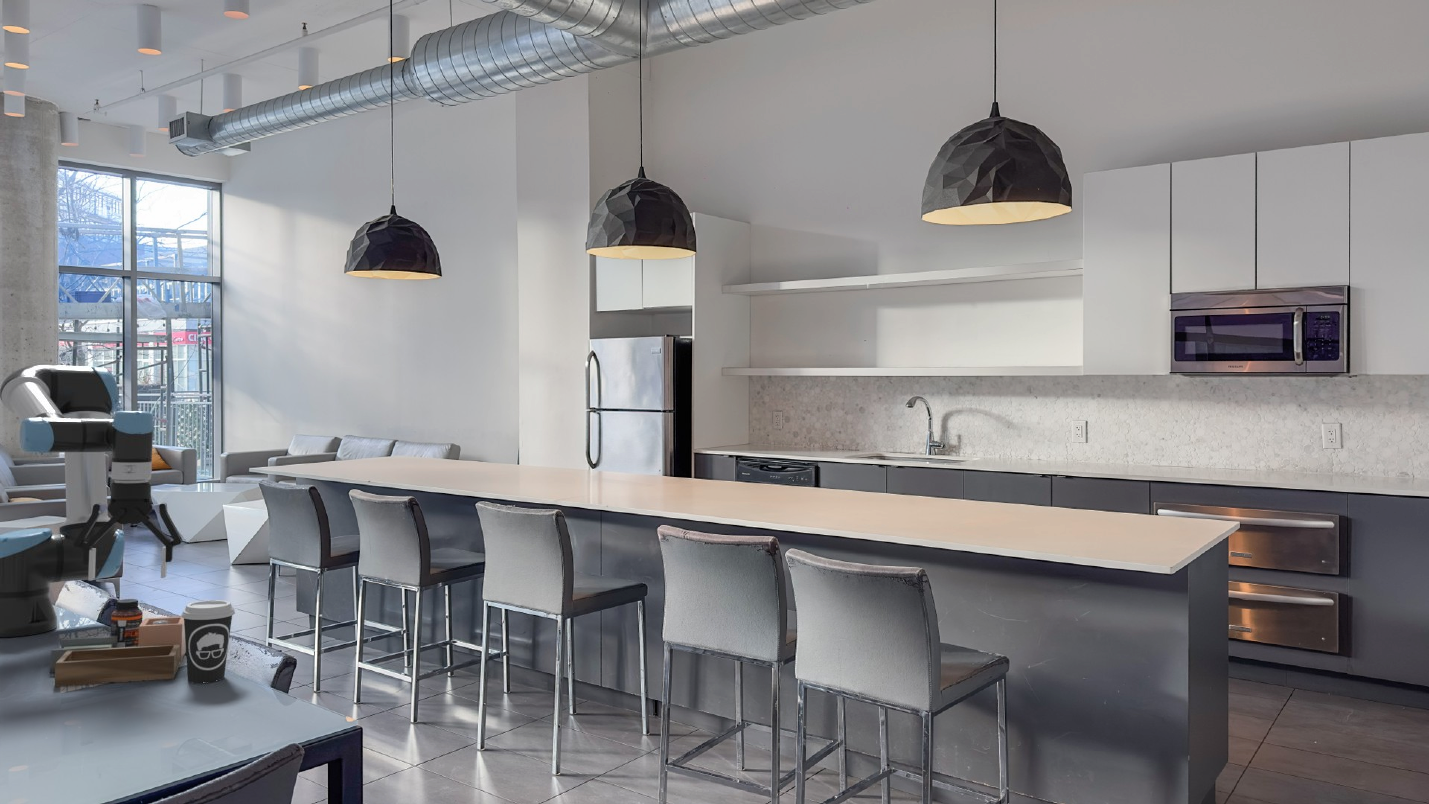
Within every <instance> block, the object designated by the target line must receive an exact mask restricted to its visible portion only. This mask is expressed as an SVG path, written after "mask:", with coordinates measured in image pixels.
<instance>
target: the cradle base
mask: <svg viewBox="0 0 1429 804" xmlns="http://www.w3.org/2000/svg"><path fill="white" fill-rule="evenodd" d="M117 638H118V636H109V635H107V636H106V635H105V636H93V637H91V636H89V637H72V638H62V639H61V641H60V645H61V646H60V648H52V649H51V650H50V663H49V665H50V668H49V673H51V674H53V673H54V674H55V663H56V662H57V661H58V660H59V659H60V658H61V657H62V656H63V655H64V654H65V653H66V652H67V651H69V650H87V649H104V648H110V646H100V647H82V648H65V649H63V648H64V647H70V646H88V645H105V644H112V648H117Z"/></svg>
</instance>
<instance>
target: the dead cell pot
mask: <svg viewBox="0 0 1429 804" xmlns="http://www.w3.org/2000/svg"><path fill="white" fill-rule="evenodd" d="M173 644H180V662H179V663H182V661H183V659H184V658H185V656H186V643H185V627H184V618H182V617H181V616H166V617H165V616H164V617H163V616H162V617H145V618H143V619H142V623H141V624H140V626H139V641H138V647H139V646H156V645H173Z"/></svg>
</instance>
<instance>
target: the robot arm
mask: <svg viewBox="0 0 1429 804" xmlns="http://www.w3.org/2000/svg"><path fill="white" fill-rule="evenodd" d="M0 400H1V402H2V405H3V406H4V407H5V408H6V409H7V410H8V411H9V412H11V413H14V414H15V415H16V416H17V418H18V419H19V421H20V423H21V424H20V427H19V443H20V448H21V450H22V451H23V452H25V453H39V454H47V453H48V454H51V453H56V454H59V453H64V478H65V510H66V511H65V512H66V513H65V514H66V519H65V521H64V522H63V523H62V524H60V525H59V529H58V530H59V532H58V533H53V531H52V528H49V527H38V528H37V527H36V528H26V529H21V530H15V531H11V532H10V531H9V532H7V533H6V532H4V533H2V534H0V638H13V637H24V636H32V635H38V634H43V633H48V632H49V631H52V630H55V629H57V627H58V617H57V614H56V610H55V608H54V605H53V602H52V600H51V596H50V586H51V585H50V584H52V583H63V582H74V581H83V580H84V581H86V580H87V581H93V580H94V581H96V580H99V579H103V578H105V579H106V578H110V577H114V576H115V575H116V574H117V573H118V572H119V570H120V567H121V565H122V562H123V560H124V559H123V558H124V553H125V549H126V548H125V545H126V538H125V533H124V531H123V530H122V529H117V528H116V524H120V525H128V524H131V525H138V524H141V523H142V524H143V525H144V526H145V527H146V528H147V529H149V530H150V532H151V533H152V534H153V535H154V536H155V537H156V538H157V539H158V540H159V541H160V542H161V543H162V544H163V545H164V546H163V547H161V556H160V557H161V558H160V559H161V561H160V563H161V564H160V579H165V578H166V577H167V567H168V563H171V562H172V561H173V555H174V554H173V553H174V552H173V550H174V547H175V546H179V545H180V544H182V542H183V539H182V537H181V535H180V533H179V531H178V529H177V528H176V525H175V524H174V521H173V520H172V518H171V516H170V514H169V512H168V505H167V502H164V501H163V502H161V503H155V504H152V501H151V498H152V496H151V495H152V483H151V482H150V481H151V479H152V472H153V471H152V470H153V469H152V468H153V467H152V466H153V464H152V463H153V459H152V458H153V438H154V437H153V436H154V435H153V434H154V429H155V425H154V416H153V413H151V412H150V411H145V410H144V411H143V410H141V411H140V410H118V407H119V389H118V385H117V381H116V378H115V376H114V374H113V373H112V372H111V371H110V370H109V369H108V368H106V367H98V366H97V367H96V366H91V365H88V366H81V365H80V366H79V365H60V364H59V365H58V364H53V365H51V364H41V363H40V364H33V365H29V366H24V367H22V368H19V369H17V370H16V371H15V370H14V371H13V372H12V373H10V374H9V375H8V376H7V377H6V378H5V379H4V381H3V382H2V383H1V385H0ZM112 413H114V414H113V417H112V416H111V414H112ZM106 453H112V454H111V455H112V459H111V461H112V462H111V474H110V475H111V476H110V477H111V480H112V481H113V482H112V483H111V485H110V501H109V504H108V493H107V492H108V491H107V489H108V488H107V487H108V485H107V466H106V464H107V463H106V462H107V461H106ZM153 510H154V511H155V513H157V514H159V515H160V517H161V520H162V521H163V524H164V525H165V527H166V529H167V530H168V533H169V534H170V537H171V538H172V540H171V539H170V538H169V536H168V535H167V534H165V532H164V531H163V530H162V529H161V528H160V527H159V526H158V525H157V524H156V523H155V522H154V521H153V519H152V518H151V517H150V516H149V514H150V513H151V512H152V511H153ZM108 513H109V514H110V515H111V516H112V517H109V514H108Z"/></svg>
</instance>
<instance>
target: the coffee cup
mask: <svg viewBox="0 0 1429 804" xmlns="http://www.w3.org/2000/svg"><path fill="white" fill-rule="evenodd" d="M235 614H236V611H235V609H234V607H233V606H232V603H231V601H229V600H222V599H221V600H219V599H211V600H210V599H209V600H199V601H193V602H189V603H187V604H186V606H185V608H184V609H183V610H182V613H181V616H180V617H182V618H184V627H185V643H186V651H185V657H186V658H185V659H186V673H187V674H186V675H187V682H189V683H190V682H193V683H192V684H204V683H203V682H211V683H214V682H213V681H216V680H219V679H222V678H223V677H224V678H225V675H226V674H225V673H226V665H227V658H228V651H229V641H230V635H231V626H232V620H233V616H234V615H235ZM224 678H223V679H224ZM223 679H222V680H223ZM219 681H220V680H219ZM216 682H217V681H216Z"/></svg>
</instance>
